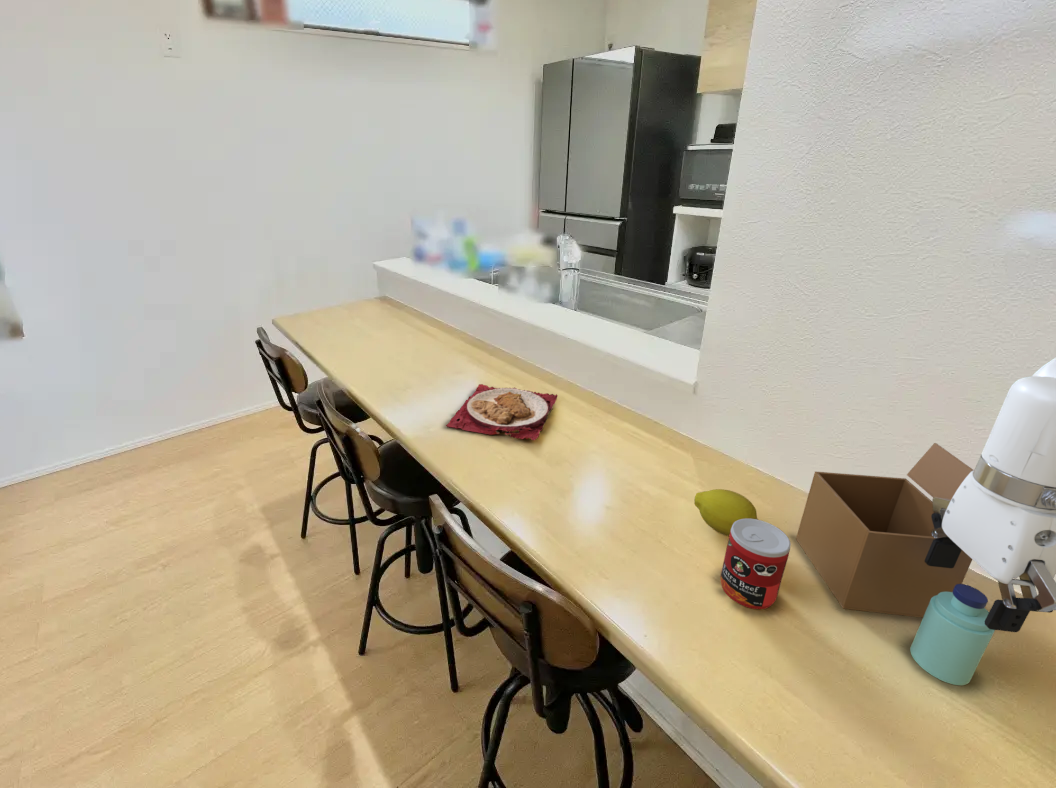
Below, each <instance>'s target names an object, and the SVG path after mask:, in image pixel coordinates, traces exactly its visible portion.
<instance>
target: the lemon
mask: <svg viewBox="0 0 1056 788" xmlns="http://www.w3.org/2000/svg"><path fill="white" fill-rule="evenodd" d="M694 506H695V507H696V508H697V509H698V510H699V514H700V516H701V518H702V520H703V521H704V522H705V524H706V525H707V526H708V527H710V528H711V529H713V530H714V531H716V532H717V533H718V534H721V535H724V536H727V537H729V535H730V531H731V528H732V525H733V523H734V522H735V521H737V520H740V519H746V518H747V519H757V520H759V518H758V515H757V509H756V507H755V506H754V504H753V503H752V502H751V500H749V499H748V498H747V497H746V496H744V495H742V494H740V493H738V492H736V491H734V490H730V489H725V488H724V489H722V488H716V489H710V490H705V491H700V492H696V494H695V496H694Z"/></svg>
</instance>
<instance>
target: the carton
mask: <svg viewBox="0 0 1056 788" xmlns="http://www.w3.org/2000/svg"><path fill="white" fill-rule="evenodd" d="M933 513H934V512H933V502H932V499H930V498H929V497H928V496H927V495H925V494H924V493H923V492H922V491H921V490H920V489H919V488H917V487H916V486H915V485H914V484H913V483H912V482H910V481H909V479H907V478H905V477H893V476H892V477H891V476H878V475H868V474H867V475H865V474H852V473H841V472H826V471H814V473H813V477H812V481H811V484H810V486H809V491H808V495H807V499H806V501H805V506H804V509H803V513H802V516H801V519H800V523H799V526H798V530H797V533H796V537H795V540H796V541H797V543H798V544H799V546H800V547H801V549H802V550H803V552H804V553H805V555H806V556H807V558H808V559H809V561H810V562H811V564H812V565H813V566H814V568H815V569H816V571H817V573H818V574H819V575H820V577H821V578H822V580H823V581H824V583H825V584H826V586H827V588H828V589H829V591H830V592H831V593H832V595H833V597H834V598H835V599H836V601H837V602H838V603H839V605H840V606H841V608H842V609H846V610H851V611H853V610H854V611H862V612H869V613H879V614H880V613H881V614H888V615H889V614H890V615H897V616H905V617H914V618H922V619H923V617H924V614H925V612H926V609H927V607H928V605H929V602H930V600H931V598H932V597H933V596H936V595H938V594H939V593H941V592H953V589H954V587H955V585H957V584H963V582H964V579H965V578H966V575H967V573H968V570H969V568H970V566H971V564H972V562H973V559H972V558H970V557H969V556H968V555H967V554H966V553H965V552H964V551H963V550H961V553H960V555H959V557H958V559H957V562H956V564H955V566H954V568H943V567H934V566H929V565H927V564H926V563H925V558H926V556H927V553H928V551H929V549H930V546H931V544H932V542H933V539H935V538H934V537H933V536H932V534H931V531H932V530H933V529H934V525H933V522H932V518H931V515H932V514H933Z"/></svg>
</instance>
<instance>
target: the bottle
mask: <svg viewBox="0 0 1056 788" xmlns="http://www.w3.org/2000/svg"><path fill="white" fill-rule="evenodd" d="M988 603H989V599H988V597H987V595H986V594H985V593H984V592H982V591H981V590H979V589H977V588H976V587H974V586H972V585H969V584H964V583H962V584H957V585H955V587H954V589H953V592H941V593H939V594H938V595H936V596H933V597H932V598H931V600H930V602H929V605H928V607H927V609H926V612H925V614H924V617H923V618H922V619H921V622H920V624H919V627H918V628H917V631H916V633H915V636H914V639H913V640H912V643H911V645H910V648H909V651H910V654H911V657H912V659H913V661H915V662H916V664H917V665H918V666H919V667H920V668H921V669H923V670H924V671H925V672H926V673H927V674H929V675H931V676H932V677H934V678H936V679H938V680H940V681H942V682H945V683H947V684H950V685H954V686H965V685H968V684H969V683H970V682H971V681H972V678H973V676H974V674H975V672H976V670H977V668H978V666H979V664H980V662H981V659H982V658H983V656H984V654H985V652H986V649H987V648H988V645H989V643H990V642H991V639H992V638H993V635H994V634H995V632H996V630H992V629H989V628H988V627H987V626H986V625H985V622H984V621H985V619H986V617H987V615H988V613H989V610H988V609H986V606H987V604H988Z"/></svg>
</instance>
